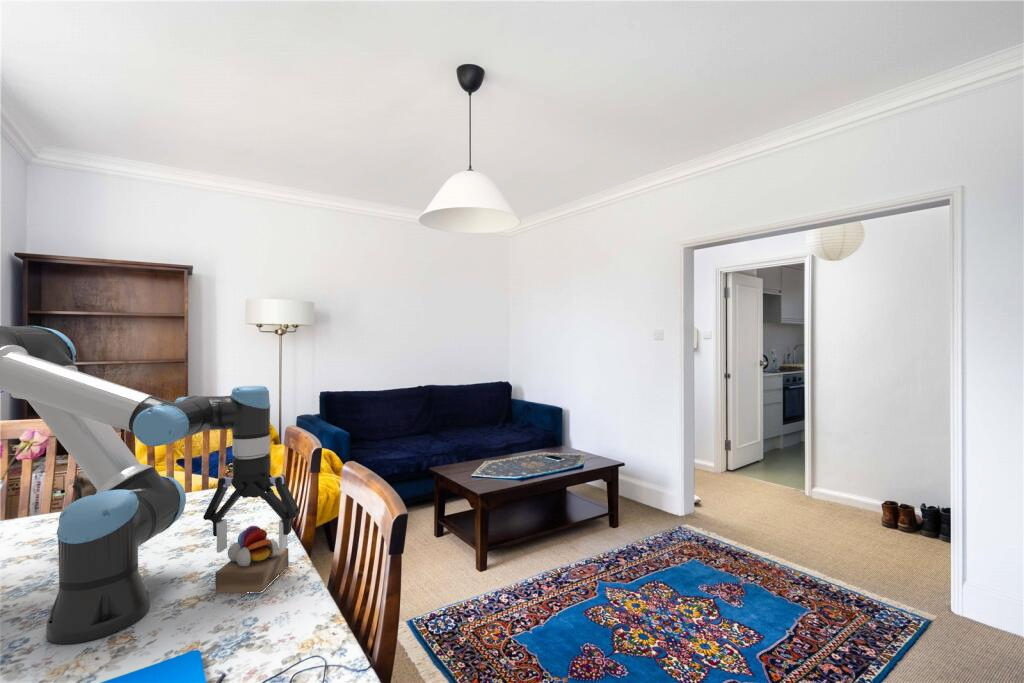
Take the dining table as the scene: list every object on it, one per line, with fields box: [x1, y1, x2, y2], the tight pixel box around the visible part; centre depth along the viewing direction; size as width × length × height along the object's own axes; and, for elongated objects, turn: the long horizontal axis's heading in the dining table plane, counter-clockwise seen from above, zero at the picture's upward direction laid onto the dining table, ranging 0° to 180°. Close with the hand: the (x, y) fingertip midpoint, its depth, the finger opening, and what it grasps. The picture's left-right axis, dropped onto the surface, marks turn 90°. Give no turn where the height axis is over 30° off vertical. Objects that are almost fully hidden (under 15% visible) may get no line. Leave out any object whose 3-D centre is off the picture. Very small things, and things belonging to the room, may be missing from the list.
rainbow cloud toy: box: [227, 525, 279, 567], centre depth 109 cm, size 8×10×7 cm
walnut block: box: [214, 547, 290, 595], centre depth 109 cm, size 12×10×5 cm
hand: (252, 549), depth 109 cm, fingers open, 13 cm apart
